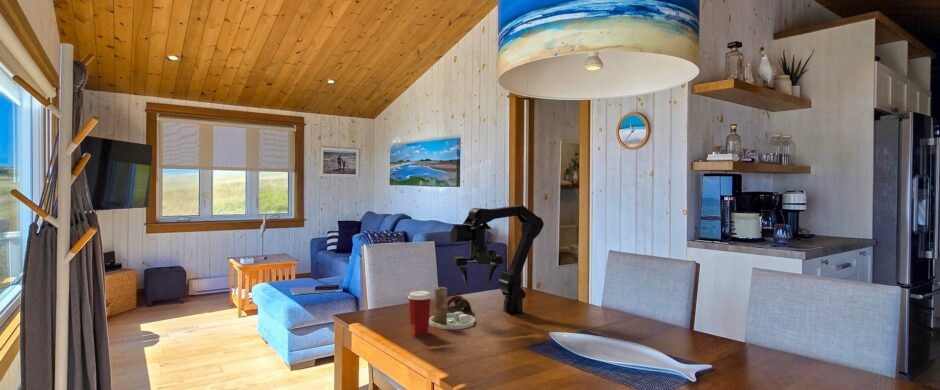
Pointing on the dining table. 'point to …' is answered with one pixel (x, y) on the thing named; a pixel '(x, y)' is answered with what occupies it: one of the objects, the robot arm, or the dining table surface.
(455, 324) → the green tray
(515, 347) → the dining table surface
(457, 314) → the blue-grey rounded piece
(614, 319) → the dining table surface
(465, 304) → the brown hollow cylinder
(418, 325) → the paper cup
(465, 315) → the cream round bead
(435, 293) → the pepper grinder
